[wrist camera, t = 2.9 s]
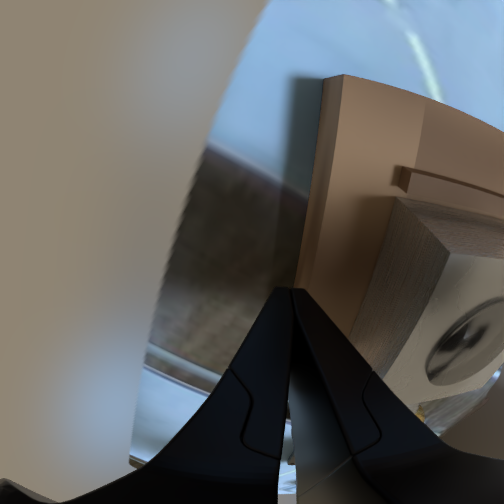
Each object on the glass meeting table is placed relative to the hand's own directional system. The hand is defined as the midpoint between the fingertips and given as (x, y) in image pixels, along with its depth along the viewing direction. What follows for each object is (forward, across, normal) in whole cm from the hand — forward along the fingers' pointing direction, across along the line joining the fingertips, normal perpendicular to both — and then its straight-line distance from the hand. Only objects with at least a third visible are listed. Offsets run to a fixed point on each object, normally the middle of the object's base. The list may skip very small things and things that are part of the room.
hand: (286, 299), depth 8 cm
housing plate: (+4, -8, 0) cm, 9 cm away
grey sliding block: (+1, -6, 0) cm, 6 cm away
